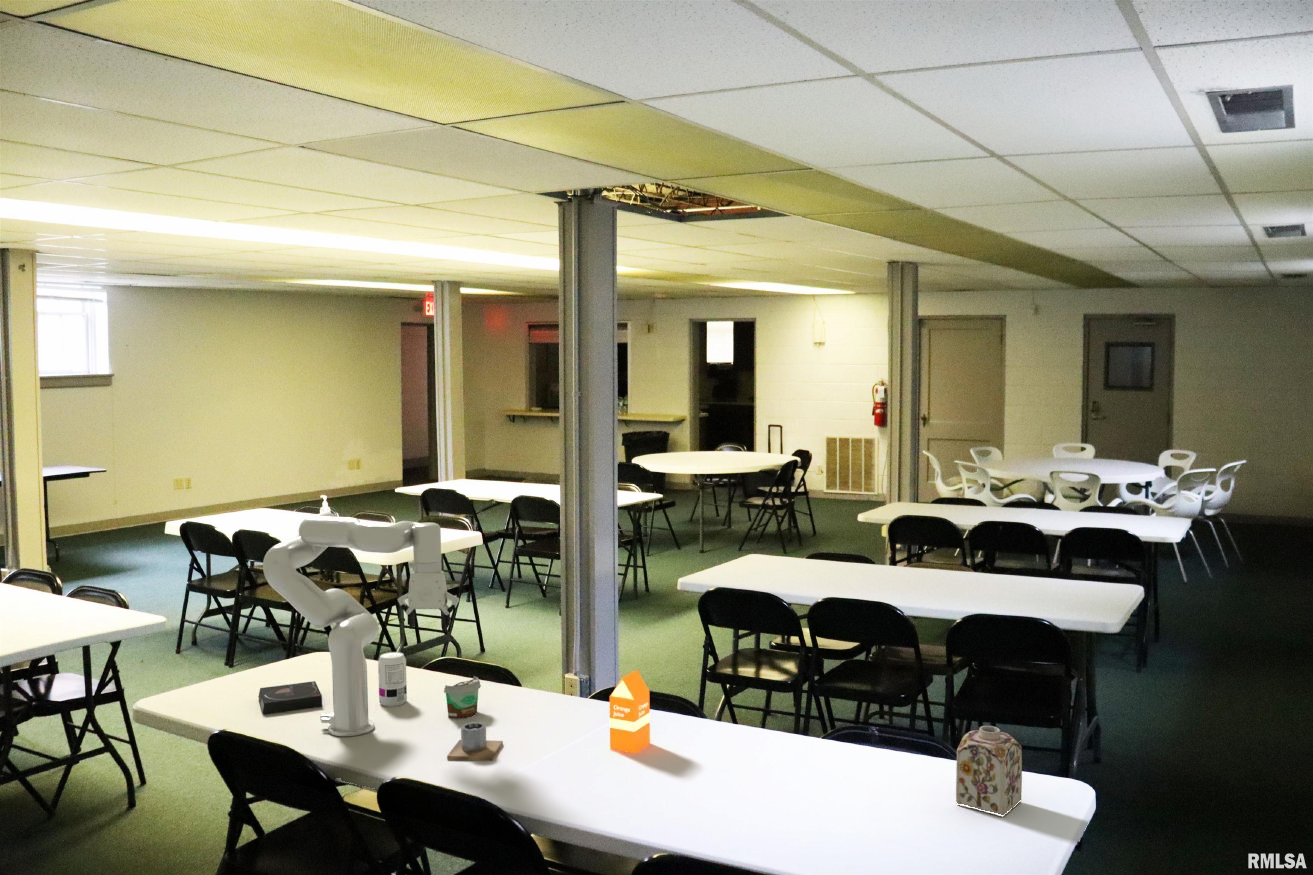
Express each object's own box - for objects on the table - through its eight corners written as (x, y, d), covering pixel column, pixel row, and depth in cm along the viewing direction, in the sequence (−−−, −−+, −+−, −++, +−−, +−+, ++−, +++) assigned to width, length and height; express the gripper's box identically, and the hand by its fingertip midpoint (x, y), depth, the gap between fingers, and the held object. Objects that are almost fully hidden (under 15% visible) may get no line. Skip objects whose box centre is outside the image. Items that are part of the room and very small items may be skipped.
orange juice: (609, 749, 286) (608, 676, 284) (625, 738, 294) (625, 667, 292) (635, 753, 282) (634, 680, 281) (650, 743, 290) (650, 671, 289)
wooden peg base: (447, 759, 279) (446, 737, 279) (459, 743, 291) (459, 721, 291) (492, 760, 278) (491, 738, 278) (502, 744, 290) (502, 722, 290)
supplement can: (374, 706, 324) (372, 657, 323) (388, 697, 332) (387, 650, 330) (397, 708, 321) (396, 659, 320) (411, 700, 329) (410, 652, 328)
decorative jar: (974, 789, 257) (975, 716, 255) (1022, 802, 249) (1023, 727, 248) (954, 805, 248) (955, 730, 246) (1003, 819, 240) (1004, 741, 239)
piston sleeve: (458, 752, 282) (458, 730, 281) (465, 743, 288) (464, 722, 288) (482, 752, 281) (482, 730, 281) (488, 744, 287) (488, 722, 287)
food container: (458, 723, 307) (458, 689, 307) (444, 719, 311) (443, 685, 310) (489, 711, 317) (489, 679, 317) (475, 708, 321) (474, 675, 320)
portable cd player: (258, 700, 331) (258, 688, 331) (315, 693, 338) (315, 681, 338) (262, 716, 316) (262, 703, 316) (322, 708, 323) (321, 695, 323)
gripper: (392, 569, 293) (394, 630, 294) (454, 570, 291) (455, 631, 292) (401, 564, 300) (403, 624, 301) (461, 565, 298) (463, 625, 300)
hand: (429, 627), depth 297 cm, fingers open, 9 cm apart
